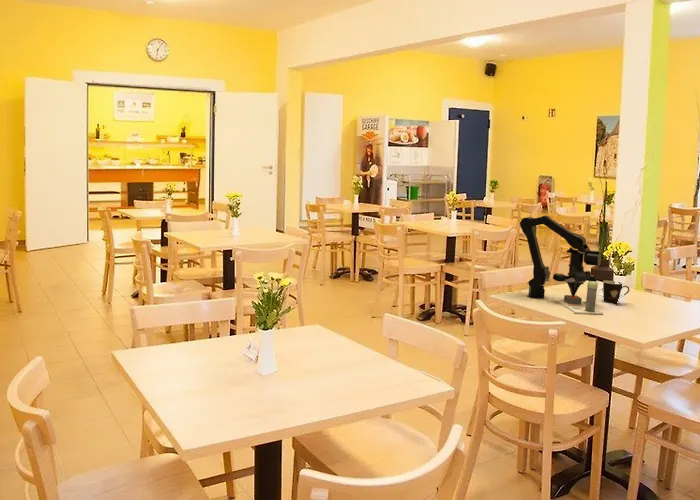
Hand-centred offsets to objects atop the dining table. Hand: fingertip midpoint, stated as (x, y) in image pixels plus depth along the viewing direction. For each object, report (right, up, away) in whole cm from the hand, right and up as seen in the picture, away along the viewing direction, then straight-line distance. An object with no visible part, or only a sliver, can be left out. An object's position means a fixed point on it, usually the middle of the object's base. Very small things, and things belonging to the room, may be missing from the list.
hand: (572, 296), depth 331 cm
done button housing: (0, -3, 0) cm, 3 cm away
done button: (0, -2, 0) cm, 2 cm away
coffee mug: (+21, -4, +7) cm, 23 cm away
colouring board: (0, -5, -7) cm, 9 cm away
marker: (+3, -6, -15) cm, 16 cm away
